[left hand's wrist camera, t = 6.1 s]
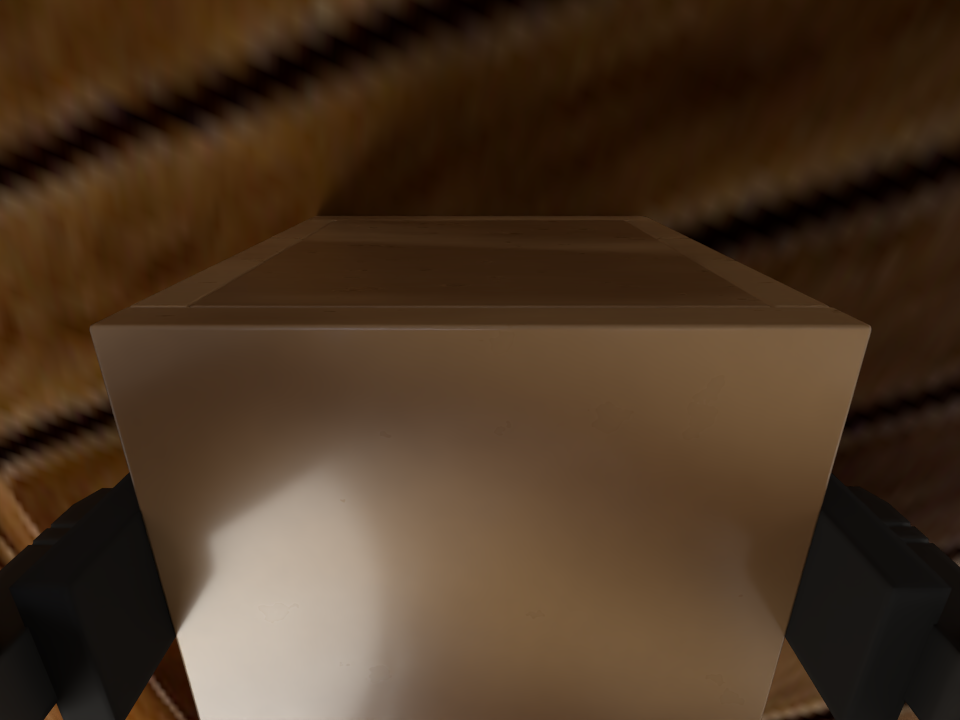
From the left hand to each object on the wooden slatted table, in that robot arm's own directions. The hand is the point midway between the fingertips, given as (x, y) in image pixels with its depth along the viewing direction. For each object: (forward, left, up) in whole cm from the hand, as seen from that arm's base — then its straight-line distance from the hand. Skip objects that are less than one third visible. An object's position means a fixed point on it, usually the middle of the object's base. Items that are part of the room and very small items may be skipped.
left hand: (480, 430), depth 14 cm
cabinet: (+1, +4, -6) cm, 7 cm away
